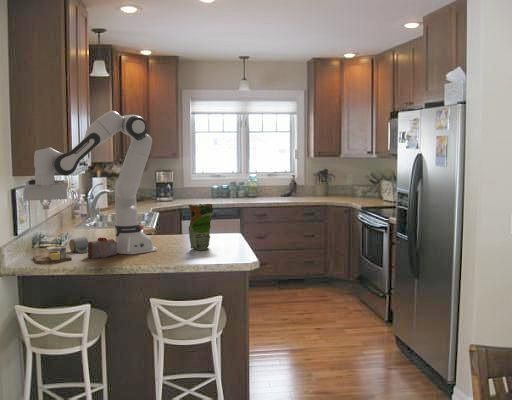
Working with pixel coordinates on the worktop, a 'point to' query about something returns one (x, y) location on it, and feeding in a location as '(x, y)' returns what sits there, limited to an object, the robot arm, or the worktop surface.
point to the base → (46, 259)
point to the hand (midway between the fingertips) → (45, 209)
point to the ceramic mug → (79, 244)
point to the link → (53, 254)
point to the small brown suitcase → (102, 248)
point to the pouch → (200, 226)
